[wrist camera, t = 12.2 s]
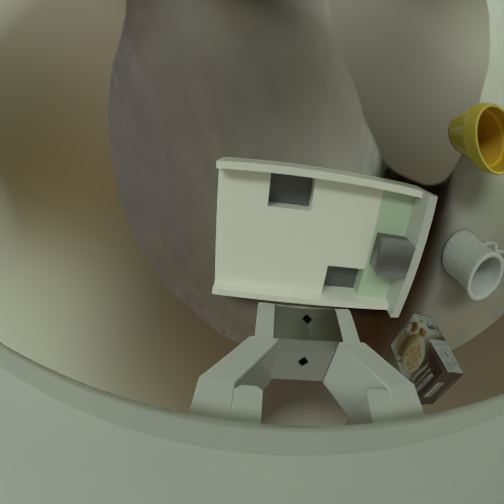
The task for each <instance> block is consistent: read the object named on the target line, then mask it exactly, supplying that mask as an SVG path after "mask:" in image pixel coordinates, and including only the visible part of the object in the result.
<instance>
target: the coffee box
mask: <svg viewBox="0 0 504 504" xmlns="http://www.w3.org/2000/svg"><path fill="white" fill-rule="evenodd" d="M391 348H392V350H393V353H394V355H395V358H396V361H397V363H398V366H399V369H400V371H401V374H402V375H403V376H404V377H406V378H407V379H408V380H409V381H410V382H412V383H413V384H414V386H415V388H416V391H417V394H418V397H419V400H420V403H421V404H433V403H434V402H435V401H436V400H437V399H438V398H439V397H440V396H441V395H443V394H444V392H445V391H447V389H449V388H450V387H451V386H452V385H453V384H454V383H455V382H456V381H457V380H458V379H459V378H460V377H461V376H462V375H463V373H462V371H461V369H460V367H459V365H458V363H457V361H456V359H455V357H454V355H453V354H452V352H451V350H450V348H449V346H448V344H447V343H446V341H445V339H444V337H443V336H442V334H441V332H440V330H439V329H438V327H437V325H436V323H435V322H434V320H433V319H432V318H428V317H425V316H422V315H418V314H413V315H412V317H411V318H410V320H409V321H408V322H407V324H406V325H405V326H404V328H403V329H402V330H401V332H400V333H399V334H398V336H397V337H396V338H395V340H394V341H393V342H392V343H391Z"/></svg>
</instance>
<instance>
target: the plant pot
mask: <svg viewBox="0 0 504 504" xmlns="http://www.w3.org/2000/svg"><path fill="white" fill-rule="evenodd" d="M448 134H449V139H450V142H451V144H452V146H453V147H454V148H455V150H457V151H458V152H460V153H461V154H463V155H465V156H466V157H468V158H469V159H471V160H472V162H473V163H474V164H475V165H476V166H477V167H478V168H480V169H482V170H484V171H486V172H489V173H492V174H495V175H502V174H504V109H503V108H501V107H500V106H498V105H496V104H492V103H482V104H475V105H473V106H472V107H471V108H470V109H469V110H468V111H466V112H464V113H461V114H458V115H456V116H454V117H453V118H452V120H451V121H450V124H449V128H448Z"/></svg>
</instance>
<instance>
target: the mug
mask: <svg viewBox="0 0 504 504" xmlns="http://www.w3.org/2000/svg"><path fill="white" fill-rule="evenodd" d="M487 246H494V248H493V250H492V249H490V248H488V247H487ZM497 249H498V245H497V243H496V242H492V241H488V242H485V243H482V242H481V241H480V240H479V239H478V238H477V237H476V236H475V235H474V234H473V233H472V232H469V231H467V230H462V231H459V232H457V233H456V234H454V235H453V236H452V237H451V238H450V239H449V240H448V242H447V244H446V246H445V248H444V250H443V255H442V264H443V267H444V269H445V270H446V272H447V273H448V274H449V275H451V276H452V277H453V278H455V279H456V280H457V281H458V282H459V283H460V284H461V285H462V286H463V288H464V289H465V291H466V292H467V294H468V295H469V297H470V298H471V299H473V300H476V301H478V300H482V299H484V298H486V297H488V296H489V295H490V294H491V293H492V292H493V291H494V290H495V289H496V287H497V286H498V284H499V282H500V280H501V278H502V274H503V269H504V258H502V257H501V255H504V250H497Z"/></svg>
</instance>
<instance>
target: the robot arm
mask: <svg viewBox="0 0 504 504" xmlns="http://www.w3.org/2000/svg"><path fill="white" fill-rule="evenodd" d="M271 379H296V380H297V379H298V380H311V381H323V383H324V384H325V386H326V387H327V388H328V390H329V391H330V392H331V394H332V395H333V396H334V398H335V399H336V400H337V402H338V403H339V404H340V405H341V407H342V408H343V409H344V411H345V412H346V413H347V415H348V416H349V417H350V418H349V420H348V421H347V422H346V424H345V425H338V426H289V425H270V424H261V409H262V392H263V391H262V390H263V389H264V388H265V387H266V386H267V384H268V383H269V382H270V381H271ZM0 504H504V393H503V394H501V395H498V396H495V397H493V398H489V399H486V400H483V401H480V402H477V403H474V404H470V405H467V406H463V407H459V408H455V409H452V410H447V411H443V412H439V413H434V414H429V415H424V412H423V409H422V406H421V403H420V400H419V397H418V394H417V391H416V388H415V386H414V384H413V383H412V382H410V381H409V380H408V379H407V378H406V377H404V376H403V375H402V374H401V373H400V372H398V371H397V370H396V369H395V368H394V367H392V366H391V365H390V364H389V363H388V362H387V361H385V360H384V359H383V358H382V357H381V356H379V355H378V354H377V353H376V352H375V351H373V350H372V349H371V348H370V347H369V346H367V345H366V344H365V343H360V340H359V337H358V334H357V331H356V328H355V325H354V321H353V318H352V315H351V312H350V311H349V310H348V309H321V308H308V307H300V306H290V305H281V304H275V305H274V304H272V303H263V302H259V303H258V310H257V319H256V328H255V336H249V337H248V338H247V339H246V340H245V341H243V342H242V343H241V344H240V345H239V346H237V347H236V348H235V349H234V350H233V351H231V352H230V353H229V354H228V355H226V356H225V357H224V358H223V359H221V360H220V361H219V362H218V363H217V364H215V365H214V366H213V367H211V368H210V369H209V370H208V371H206V372H205V373H204V374H203V375H201V376H200V377H199V379H198V383H197V386H196V390H195V394H194V397H193V401H192V404H191V408H190V411H189V414H188V413H182V412H177V411H173V410H169V409H165V408H160V407H156V406H152V405H149V404H145V403H141V402H137V401H134V400H131V399H128V398H124V397H121V396H117V395H115V394H112V393H109V392H106V391H103V390H100V389H97V388H94V387H92V386H89V385H87V384H84V383H81V382H79V381H76V380H74V379H72V378H69V377H67V376H65V375H62V374H60V373H58V372H55V371H53V370H51V369H49V368H47V367H45V366H43V365H41V364H39V363H37V362H35V361H33V360H31V359H29V358H27V357H25V356H23V355H21V354H19V353H18V352H16V351H14V350H12V349H10V348H9V347H7V346H5V345H4V344H2V343H0Z"/></svg>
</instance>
